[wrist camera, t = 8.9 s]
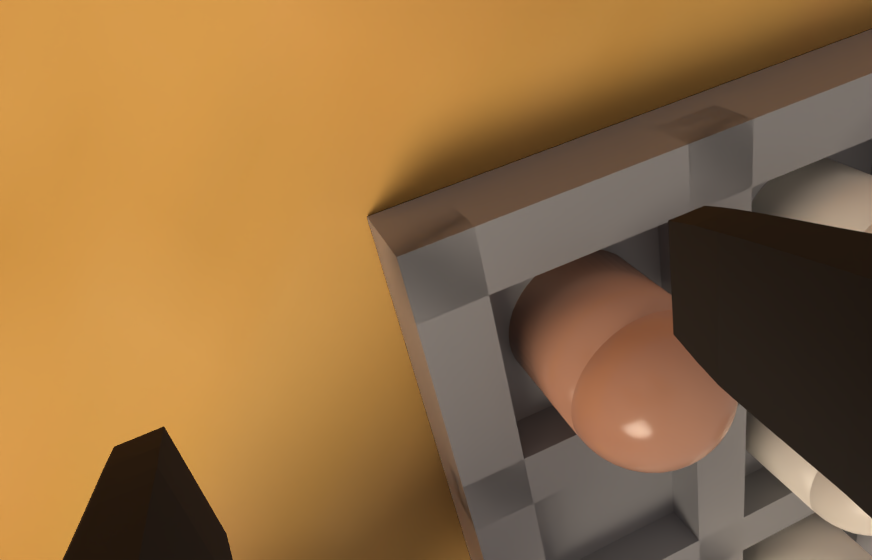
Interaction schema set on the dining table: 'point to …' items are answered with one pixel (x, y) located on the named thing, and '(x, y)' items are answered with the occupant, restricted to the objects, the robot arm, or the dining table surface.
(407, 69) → the dining table surface
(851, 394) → the robot arm
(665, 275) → the egg tray
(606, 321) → the terracotta egg
